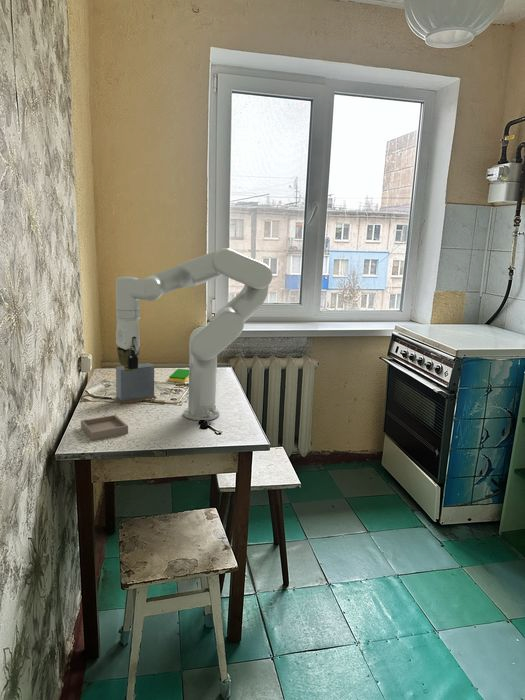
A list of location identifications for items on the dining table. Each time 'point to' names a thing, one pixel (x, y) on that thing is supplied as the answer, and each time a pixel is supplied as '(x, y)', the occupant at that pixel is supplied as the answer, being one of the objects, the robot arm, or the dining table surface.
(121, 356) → the cup
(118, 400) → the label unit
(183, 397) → the dining table surface
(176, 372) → the dish sponge
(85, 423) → the tray
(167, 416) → the dining table surface
